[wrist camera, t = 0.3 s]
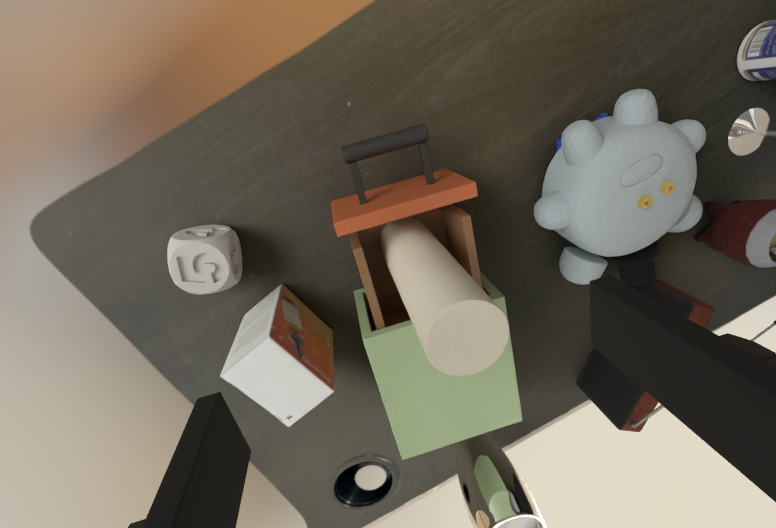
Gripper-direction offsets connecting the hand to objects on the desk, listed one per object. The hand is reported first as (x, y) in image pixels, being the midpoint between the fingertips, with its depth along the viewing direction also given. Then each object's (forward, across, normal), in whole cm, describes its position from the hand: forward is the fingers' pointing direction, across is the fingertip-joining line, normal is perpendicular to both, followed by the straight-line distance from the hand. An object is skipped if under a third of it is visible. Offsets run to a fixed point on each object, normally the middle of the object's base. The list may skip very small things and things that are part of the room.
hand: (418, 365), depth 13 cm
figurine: (+27, +26, -6) cm, 38 cm away
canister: (+25, +4, -5) cm, 26 cm away
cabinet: (+27, +4, -17) cm, 32 cm away
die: (+27, -14, -1) cm, 31 cm away
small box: (+27, -10, -11) cm, 31 cm away
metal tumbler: (+27, +6, -33) cm, 43 cm away
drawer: (+26, +4, -3) cm, 26 cm away
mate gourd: (+27, +41, -14) cm, 51 cm away
